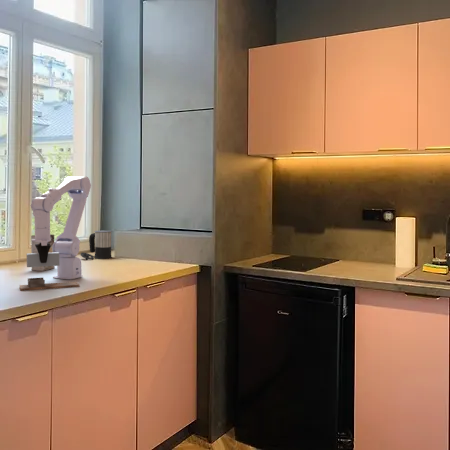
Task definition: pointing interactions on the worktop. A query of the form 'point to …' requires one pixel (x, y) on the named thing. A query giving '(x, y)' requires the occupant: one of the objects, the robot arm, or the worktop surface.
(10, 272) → the worktop surface
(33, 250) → the coffee box
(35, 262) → the rail
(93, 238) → the milk frother
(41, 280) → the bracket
